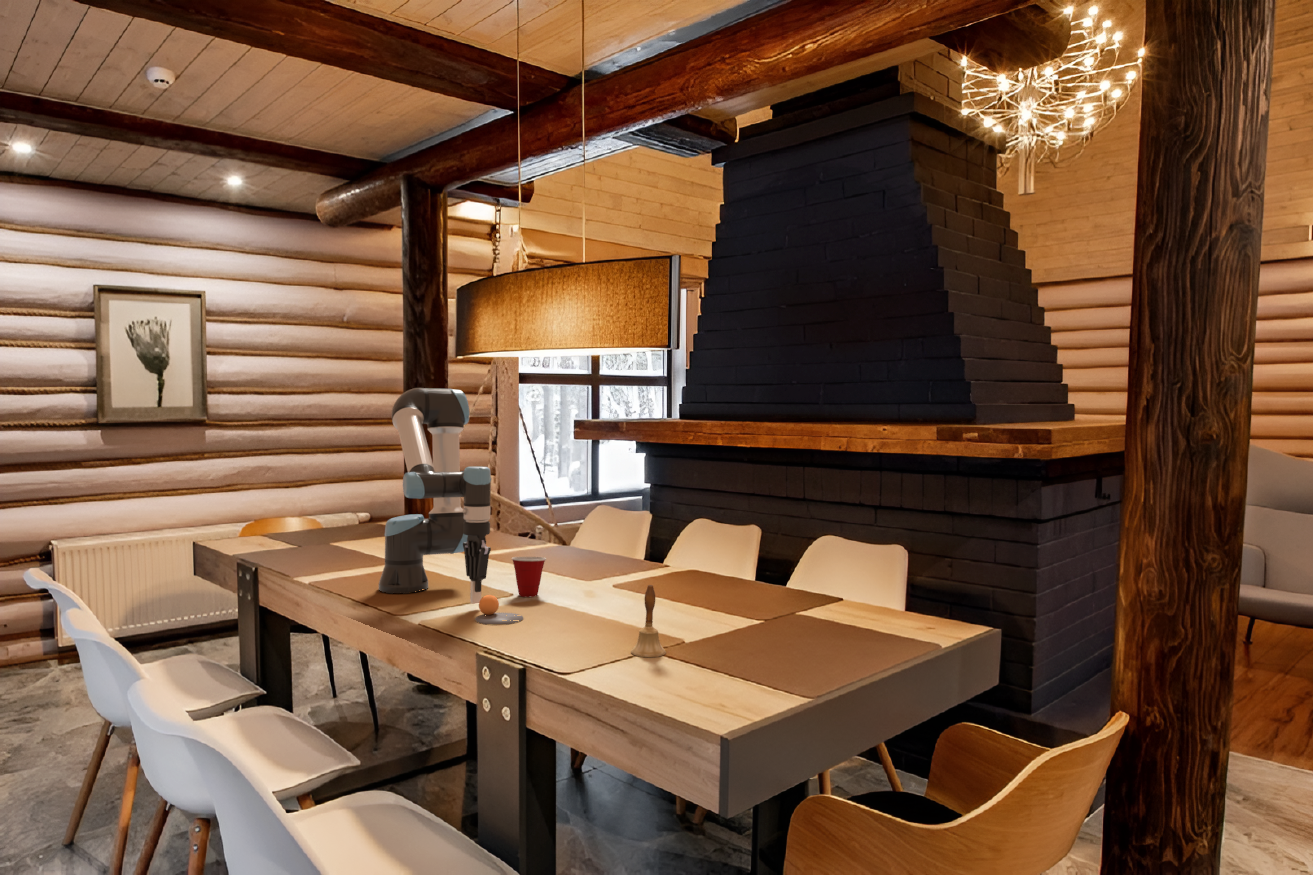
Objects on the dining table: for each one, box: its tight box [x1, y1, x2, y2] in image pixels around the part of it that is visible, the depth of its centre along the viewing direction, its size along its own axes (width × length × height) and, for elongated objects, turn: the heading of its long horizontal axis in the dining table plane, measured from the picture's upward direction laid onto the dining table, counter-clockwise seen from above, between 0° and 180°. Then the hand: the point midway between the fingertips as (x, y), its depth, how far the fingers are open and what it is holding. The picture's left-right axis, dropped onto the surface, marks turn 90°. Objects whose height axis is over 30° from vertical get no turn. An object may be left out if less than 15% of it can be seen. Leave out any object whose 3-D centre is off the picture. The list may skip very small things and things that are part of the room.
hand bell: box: [630, 584, 667, 658], centre depth 191 cm, size 8×8×16 cm
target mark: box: [474, 612, 524, 625], centre depth 221 cm, size 13×13×1 cm
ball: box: [478, 594, 500, 615], centre depth 226 cm, size 6×6×6 cm
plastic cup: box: [511, 556, 547, 598], centre depth 252 cm, size 11×11×12 cm
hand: (475, 602), depth 232 cm, fingers closed
